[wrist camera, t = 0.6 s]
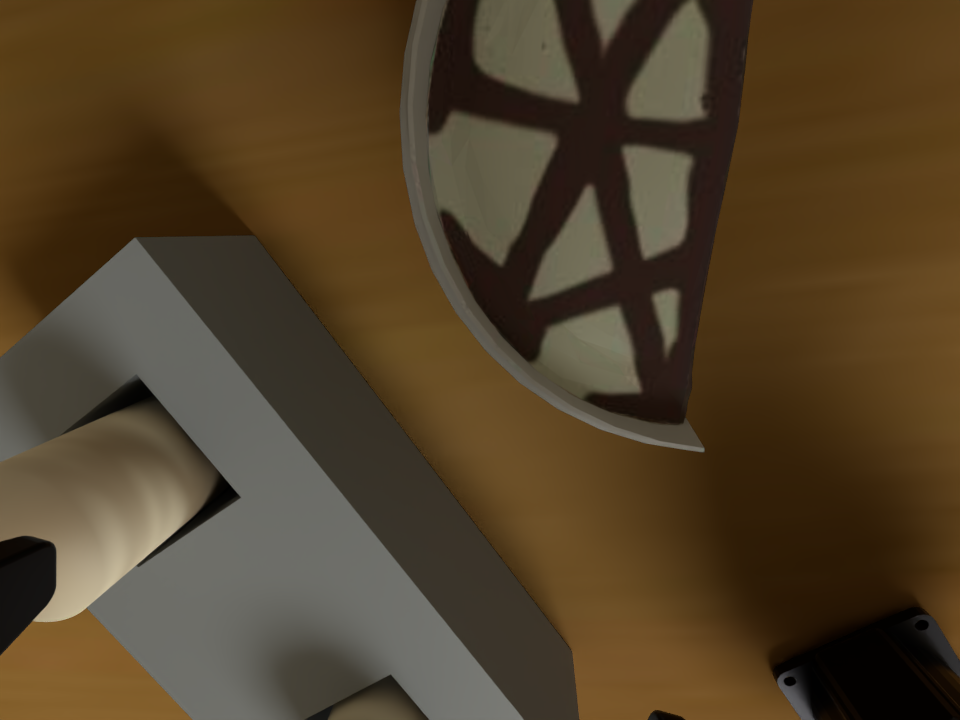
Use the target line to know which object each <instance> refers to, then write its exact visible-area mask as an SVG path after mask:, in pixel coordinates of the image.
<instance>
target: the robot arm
mask: <svg viewBox="0 0 960 720" xmlns="http://www.w3.org/2000/svg"><path fill="white" fill-rule="evenodd" d="M56 577H57V551H56V547H55V545H54V543H52V542H50V541H47V540H44V539H40V538H36V537H33V536H19V537H15V538H12V539H8V540H4V541H0V655H1V654H2V653H3V652H4V651H5V650H6V649H7V648H8V647H9V646H10V645H11V643H12V642H13V641H14V640H15V639H16V638H17V637H18V636H19V635H20V634H21V633H22V632H23V631H24V630H25V628H26V627H27V626H28V625H29V624H30V623H31V622H32V621H33V620H34V619H35V618H36V617H37V616H38V615H39V614H40V612H41V611H42V610H43V609H44V608H45V607H46V606H47V605H48V603H49V602H50V600H51V599H52V597H53V595H54V593H55V590H56ZM919 620H920V621H919ZM918 621H919V622H918ZM916 622H917V623H916ZM773 676H774V679H775V680H776V682H777V684H778V686H779V687H780V689H781V690H782V692H783V693H784V695H785V696H786V698H787V699H788V700H789V702H790V703H791V705H792V706H793V708H794V709H795V711H796V712H797V714H798V715H799V716H800V718H801V719H802V720H960V661H959V659H958V658H957V656H956V654H955V653H954V651H953V649H952V648H951V646H950V644H949V643H948V641H947V639H946V638H945V636H944V634H943V633H942V631H941V629H940V628H939V626H938V624H937V623H936V621H935V620H934V619H933V618H932V617H931V616H930V615H929V614H928V613H927V612H926V611H925V610H924V609H922V608H919V607H913V608H909V609H907V610H905V611H902V612H900V613H898V614H895V615H893V616H891V617H889V618H886V619H884V620H882V621H879V622H877V623H875V624H872V625H870V626H868V627H865V628H863V629H861V630H859V631H856V632H854V633H852V634H849V635H847V636H845V637H842V638H840V639H838V640H836V641H833V642H831V643H829V644H826V645H824V646H822V647H819V648H817V649H815V650H812V651H810V652H808V653H806V654H803V655H801V656H799V657H796V658H794V659H792V660H789V661H787V662H785V663H783V664H780V665H778V666H777V667H776V668H775V669H774V670H773ZM789 676H790V677H789ZM786 677H788V678H786ZM648 720H685V719H684V718H682V717H680V716H678V715H674V714H671V713H667V712H663V711H660V710H655V711H653V712H652V713H651V714H650V716H649V718H648Z"/></svg>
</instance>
